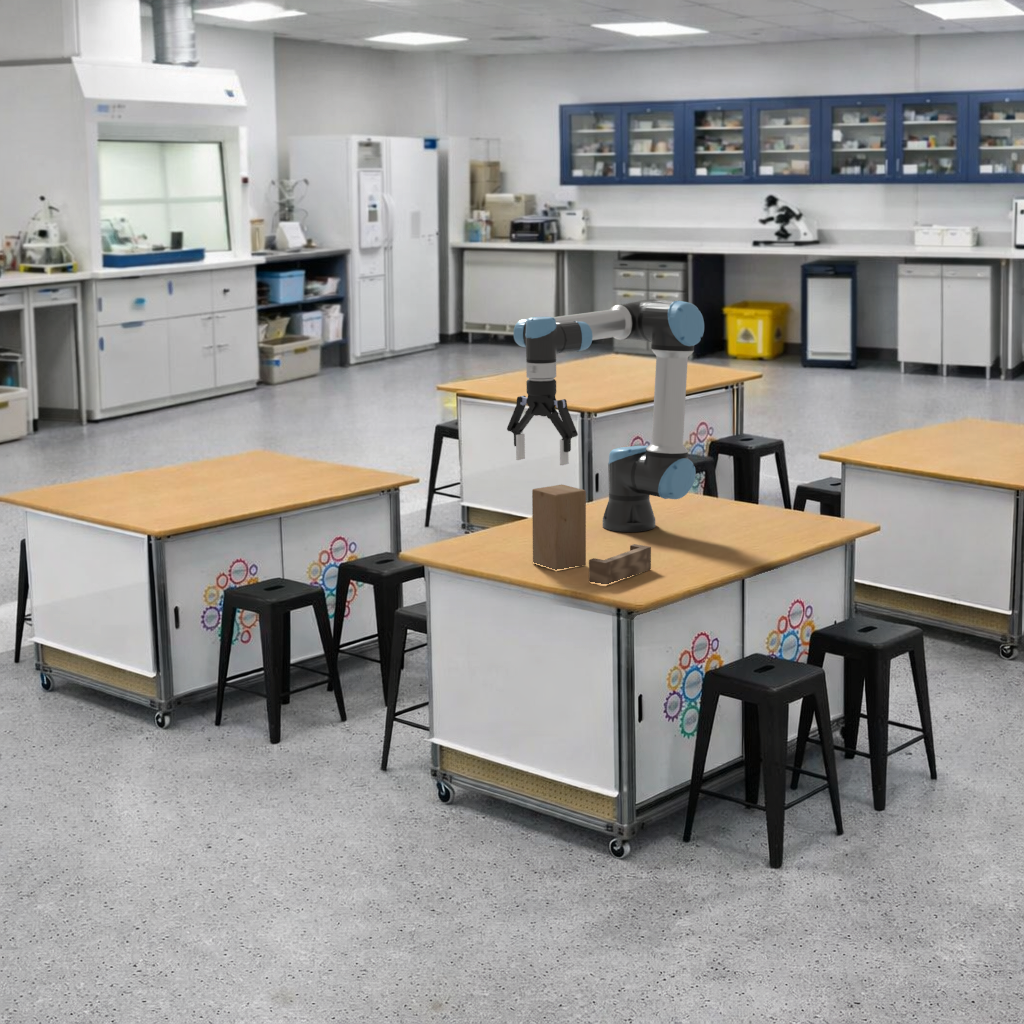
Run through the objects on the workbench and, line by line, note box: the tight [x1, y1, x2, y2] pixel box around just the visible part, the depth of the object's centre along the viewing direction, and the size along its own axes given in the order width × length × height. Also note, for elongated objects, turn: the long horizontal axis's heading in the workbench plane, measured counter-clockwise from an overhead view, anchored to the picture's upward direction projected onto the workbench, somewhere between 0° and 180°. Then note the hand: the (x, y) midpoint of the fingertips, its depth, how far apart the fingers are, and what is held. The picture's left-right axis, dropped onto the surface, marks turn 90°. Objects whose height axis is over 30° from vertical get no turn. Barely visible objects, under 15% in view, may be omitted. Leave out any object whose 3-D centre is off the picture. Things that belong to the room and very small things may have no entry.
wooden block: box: [531, 484, 587, 570], centre depth 369 cm, size 10×10×20 cm
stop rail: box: [588, 543, 652, 584], centre depth 359 cm, size 20×5×6 cm, turn 142°
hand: (542, 462), depth 368 cm, fingers open, 13 cm apart
